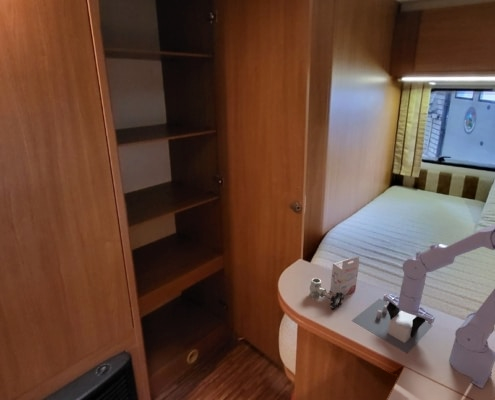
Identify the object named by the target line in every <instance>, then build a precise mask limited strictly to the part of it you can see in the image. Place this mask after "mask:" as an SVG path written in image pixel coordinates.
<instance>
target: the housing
mask: <svg viewBox="0 0 495 400" xmlns="http://www.w3.org/2000/svg"><path fill="white" fill-rule="evenodd" d="M415 317H416V316H415V315H412V314H408V313H405V312H403V311H402V310H401V311H400V312H399V313H398V314H397V315H396V316H395V317H394V318H393V319H391V320H390V322H389V327H388V332H387V333H388V334H390V335H392V336H394V337H395V338H397V339H399V340H400V341H402V342H404V343H405V342H406V341H407V340H408V339H409V338H410V337H411V336H410V335H411V331H412V324H413V322H412V321H413V319H414V318H415Z"/></svg>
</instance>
